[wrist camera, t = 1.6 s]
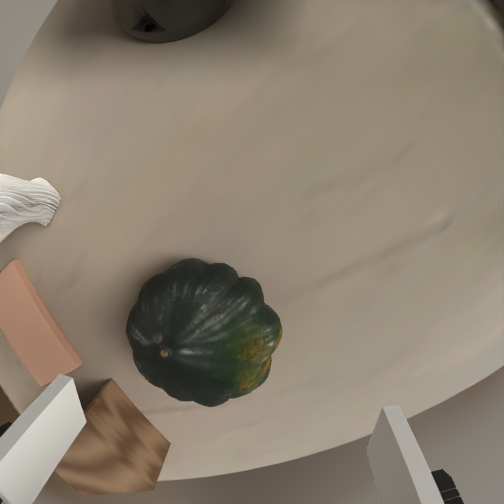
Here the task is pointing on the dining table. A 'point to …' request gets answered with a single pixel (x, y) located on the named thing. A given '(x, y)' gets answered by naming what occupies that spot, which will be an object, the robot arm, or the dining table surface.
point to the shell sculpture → (25, 203)
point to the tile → (32, 328)
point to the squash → (203, 333)
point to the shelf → (114, 448)
